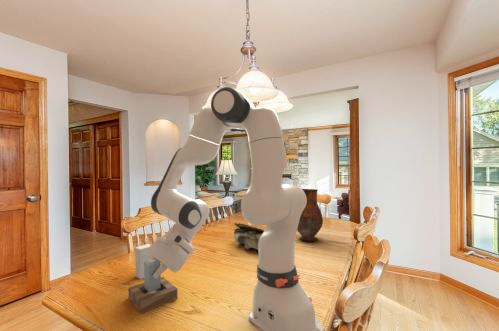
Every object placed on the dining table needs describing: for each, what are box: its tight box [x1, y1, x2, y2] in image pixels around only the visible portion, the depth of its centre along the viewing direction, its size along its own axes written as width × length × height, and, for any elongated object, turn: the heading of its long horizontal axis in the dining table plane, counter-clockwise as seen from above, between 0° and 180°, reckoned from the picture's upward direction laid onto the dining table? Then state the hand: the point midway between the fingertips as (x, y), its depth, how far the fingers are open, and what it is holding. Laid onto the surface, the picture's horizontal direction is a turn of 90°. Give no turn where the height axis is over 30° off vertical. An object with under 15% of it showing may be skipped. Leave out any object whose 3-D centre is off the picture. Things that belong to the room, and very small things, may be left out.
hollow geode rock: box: [233, 222, 265, 251], centre depth 134 cm, size 28×13×15 cm
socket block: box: [128, 276, 178, 314], centre depth 85 cm, size 12×12×4 cm
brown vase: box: [297, 188, 324, 243], centre depth 146 cm, size 17×21×30 cm
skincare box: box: [134, 243, 152, 280], centre depth 102 cm, size 6×4×12 cm
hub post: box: [143, 259, 162, 292], centre depth 85 cm, size 4×4×9 cm
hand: (150, 274), depth 84 cm, fingers closed on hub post, 4 cm apart
